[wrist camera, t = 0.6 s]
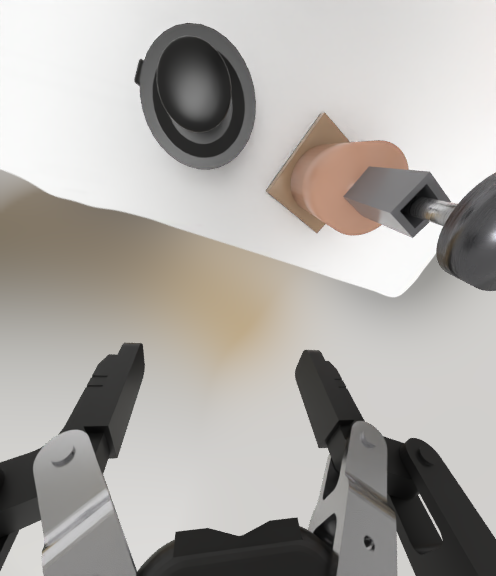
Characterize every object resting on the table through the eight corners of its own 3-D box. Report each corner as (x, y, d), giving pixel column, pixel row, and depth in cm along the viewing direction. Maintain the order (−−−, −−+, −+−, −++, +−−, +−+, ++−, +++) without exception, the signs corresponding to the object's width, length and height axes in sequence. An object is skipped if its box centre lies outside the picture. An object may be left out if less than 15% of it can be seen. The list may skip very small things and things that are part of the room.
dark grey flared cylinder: (254, 114, 32) (318, 56, 13) (225, 178, 36) (238, 209, 16) (174, 54, 28) (83, -172, 8) (150, 133, 32) (49, 104, 12)
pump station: (320, 113, 33) (463, 62, 14) (367, 168, 38) (521, 184, 19) (265, 190, 38) (318, 230, 19) (313, 230, 42) (394, 294, 23)
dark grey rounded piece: (414, 138, 18) (592, 126, 10) (451, 192, 21) (614, 220, 12) (349, 211, 21) (445, 253, 12) (390, 251, 23) (491, 307, 15)
